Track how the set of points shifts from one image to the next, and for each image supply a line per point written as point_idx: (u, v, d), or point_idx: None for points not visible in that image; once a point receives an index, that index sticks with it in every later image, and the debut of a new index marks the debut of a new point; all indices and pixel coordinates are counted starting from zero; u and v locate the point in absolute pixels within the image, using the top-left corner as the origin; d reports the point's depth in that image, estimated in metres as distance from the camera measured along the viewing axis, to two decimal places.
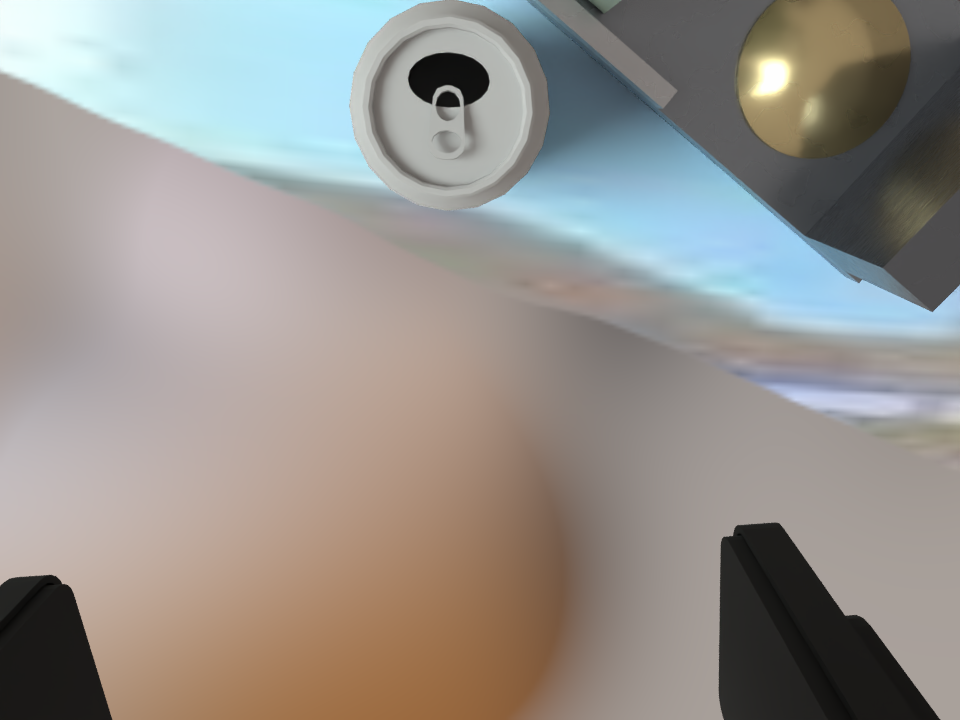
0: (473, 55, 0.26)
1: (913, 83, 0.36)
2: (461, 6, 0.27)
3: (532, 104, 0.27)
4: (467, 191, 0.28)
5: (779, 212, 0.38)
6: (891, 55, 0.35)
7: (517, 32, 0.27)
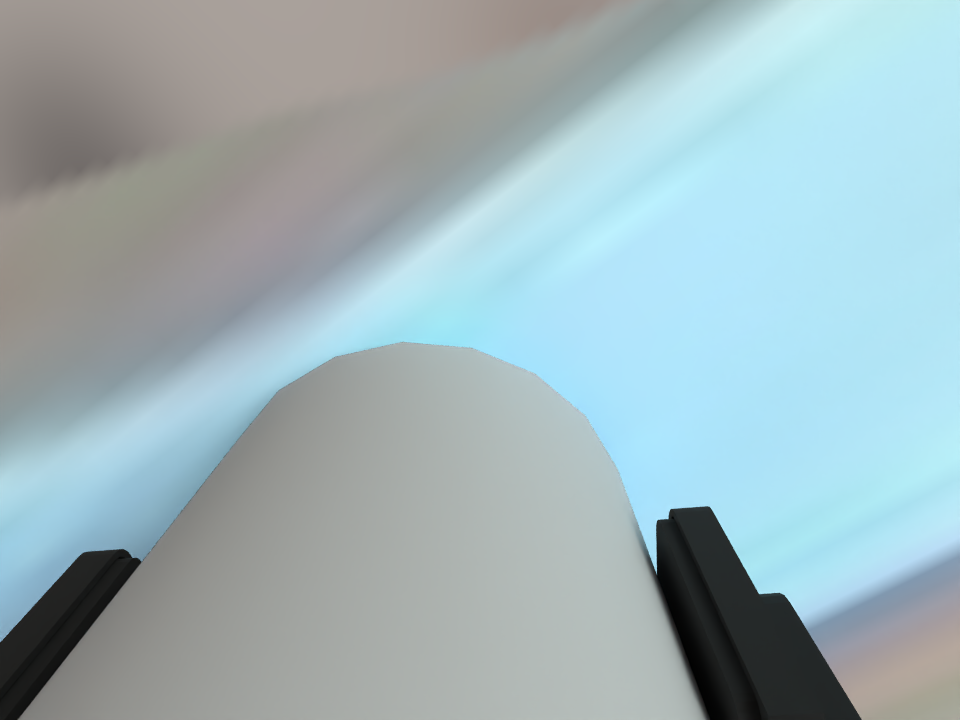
0: None
1: None
2: None
3: None
4: None
5: None
6: None
7: None
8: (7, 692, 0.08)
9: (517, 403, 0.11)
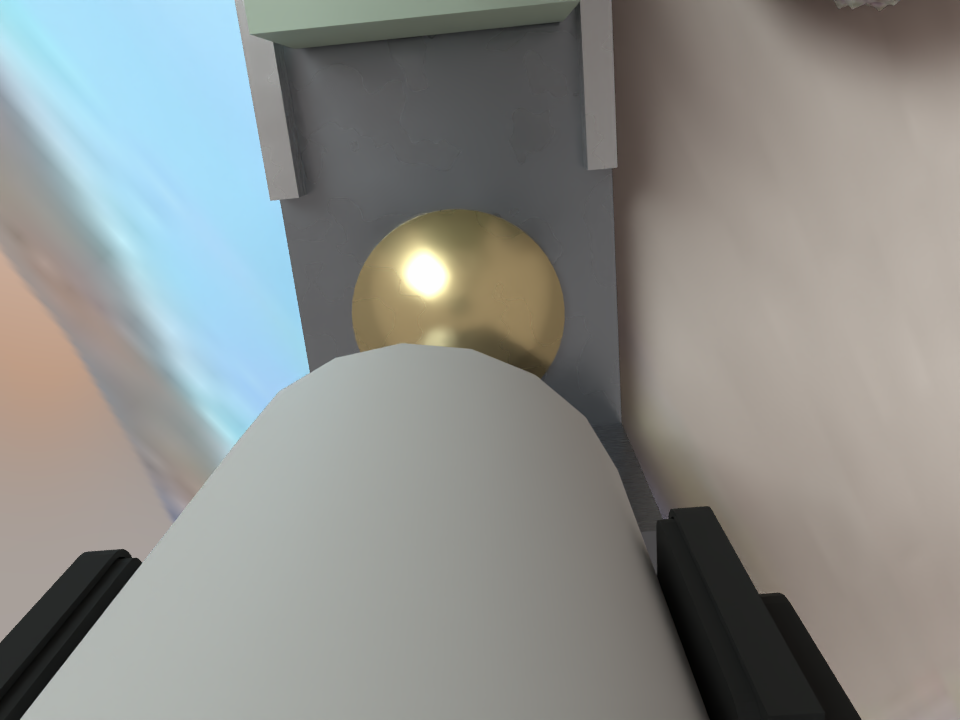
0: None
1: None
2: None
3: None
4: None
5: None
6: (525, 361, 0.29)
7: None
8: (7, 692, 0.08)
9: (517, 405, 0.11)
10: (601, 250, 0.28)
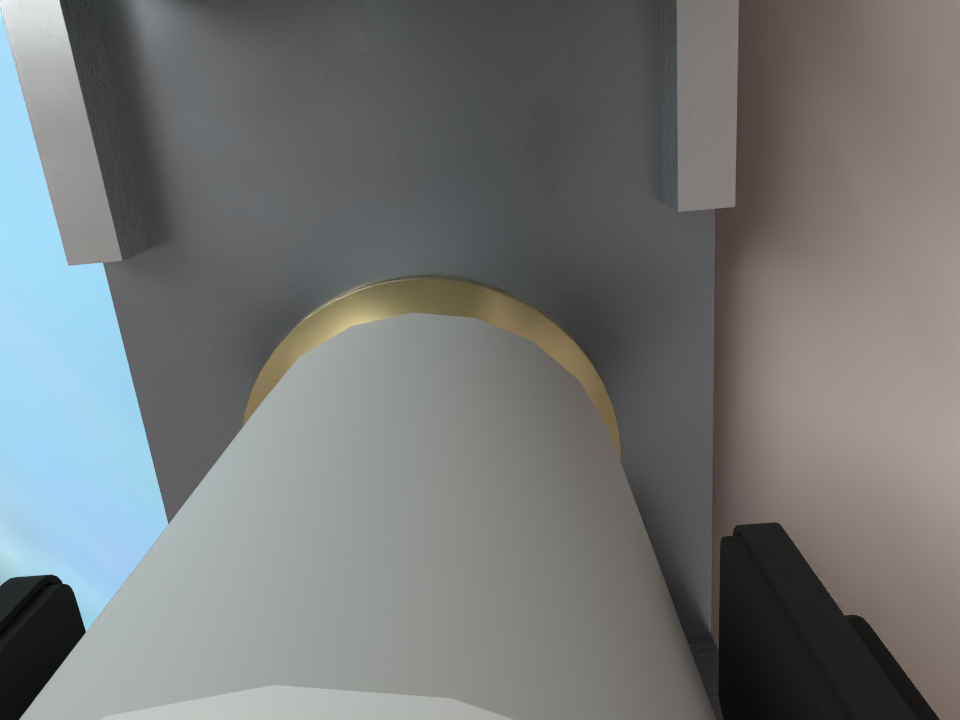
0: None
1: None
2: None
3: None
4: None
5: None
6: None
7: None
8: None
9: (516, 365, 0.12)
10: (689, 351, 0.15)
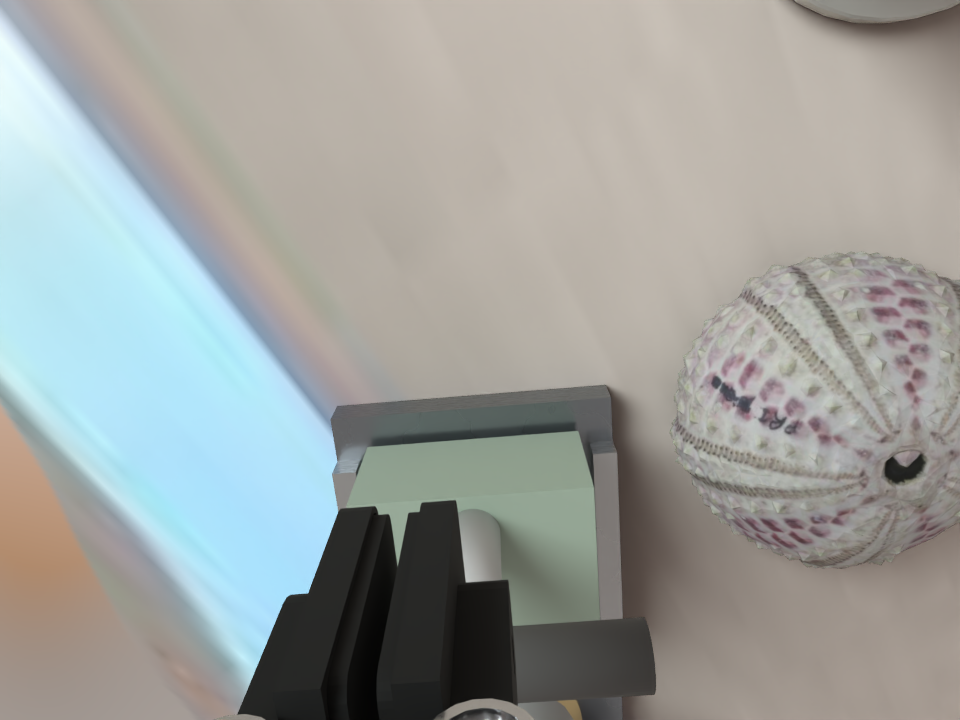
0: None
1: None
2: None
3: None
4: None
5: None
6: None
7: None
8: (340, 627, 0.09)
9: None
10: None
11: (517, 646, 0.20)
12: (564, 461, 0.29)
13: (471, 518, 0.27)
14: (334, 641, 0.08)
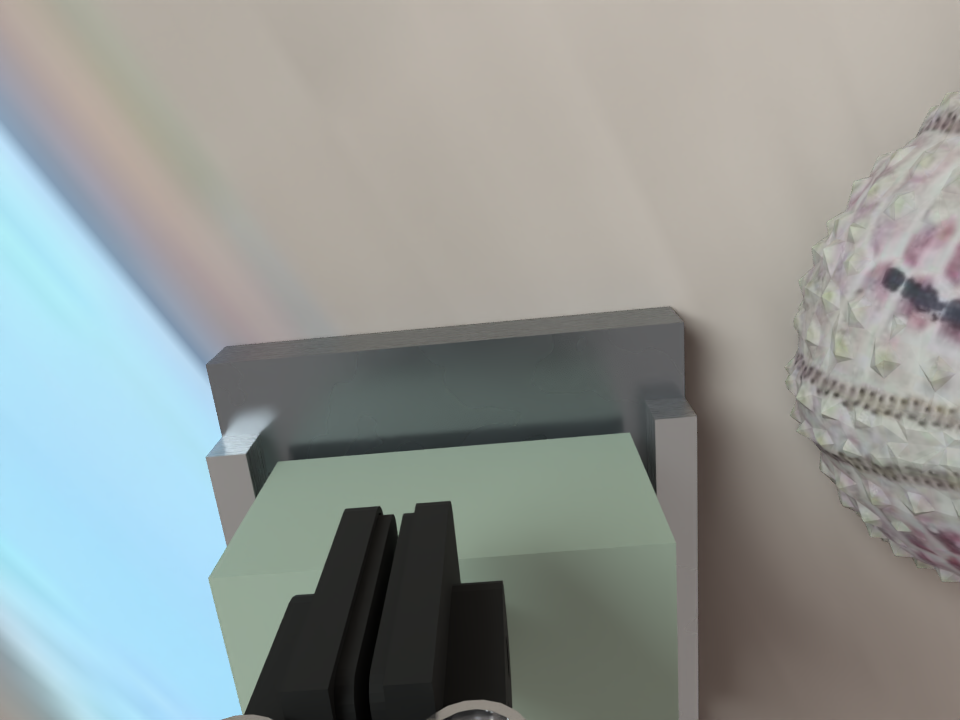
0: None
1: None
2: None
3: None
4: None
5: None
6: None
7: None
8: (346, 627, 0.09)
9: None
10: None
11: None
12: (613, 487, 0.16)
13: None
14: (340, 641, 0.08)
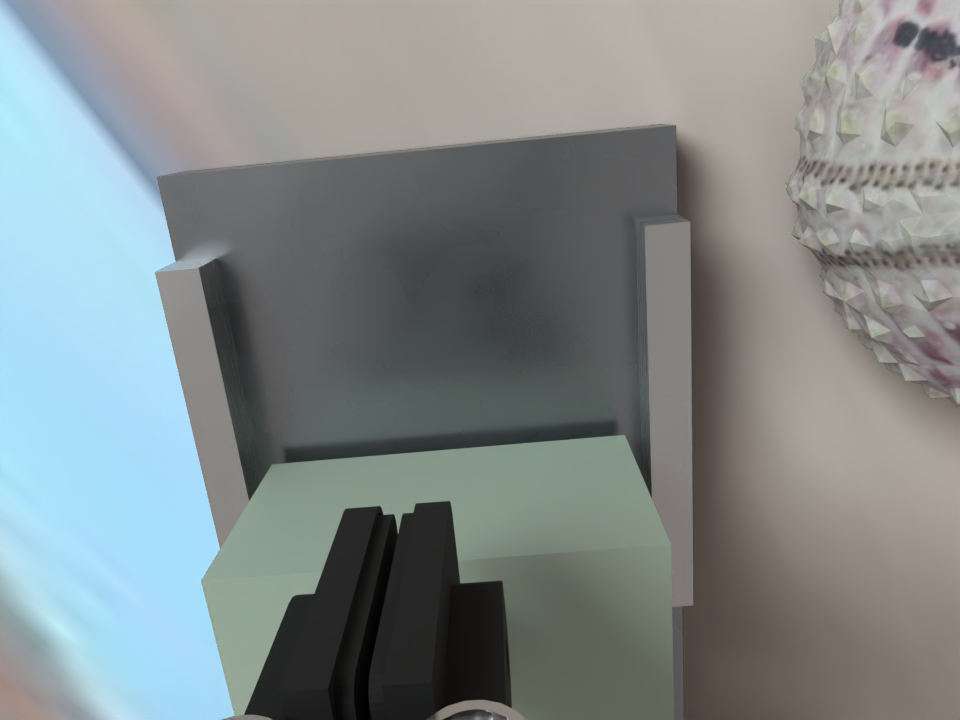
0: None
1: None
2: None
3: None
4: None
5: None
6: None
7: None
8: (347, 628, 0.09)
9: None
10: None
11: None
12: (608, 489, 0.16)
13: None
14: (341, 641, 0.08)
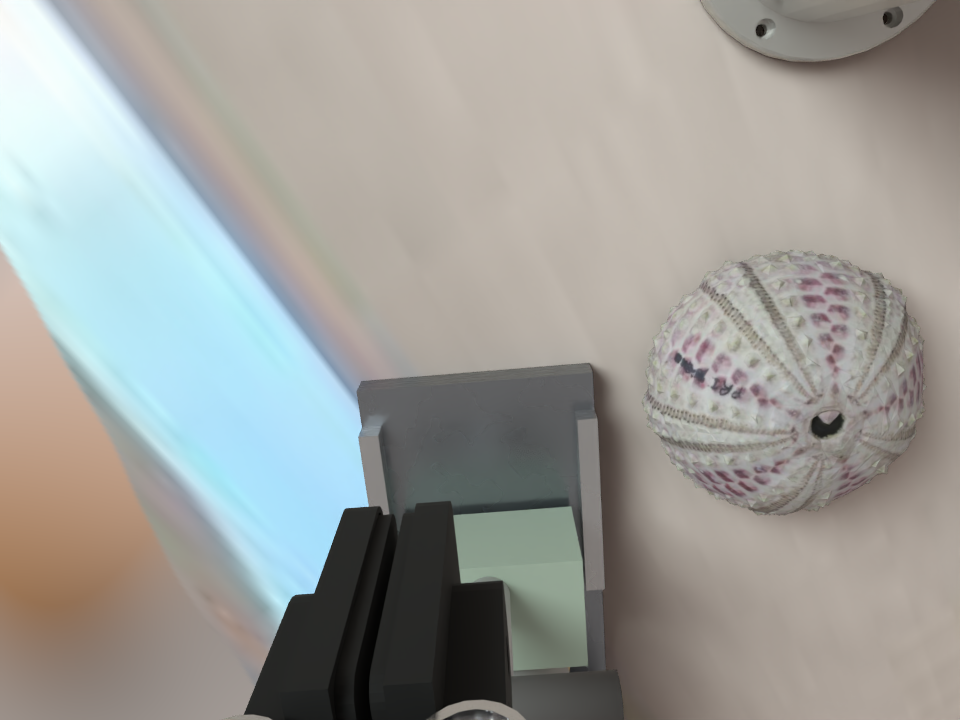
0: None
1: None
2: None
3: None
4: None
5: None
6: None
7: None
8: (346, 628, 0.09)
9: None
10: (594, 622, 0.43)
11: (524, 692, 0.28)
12: (560, 535, 0.37)
13: None
14: (340, 641, 0.08)
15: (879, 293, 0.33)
